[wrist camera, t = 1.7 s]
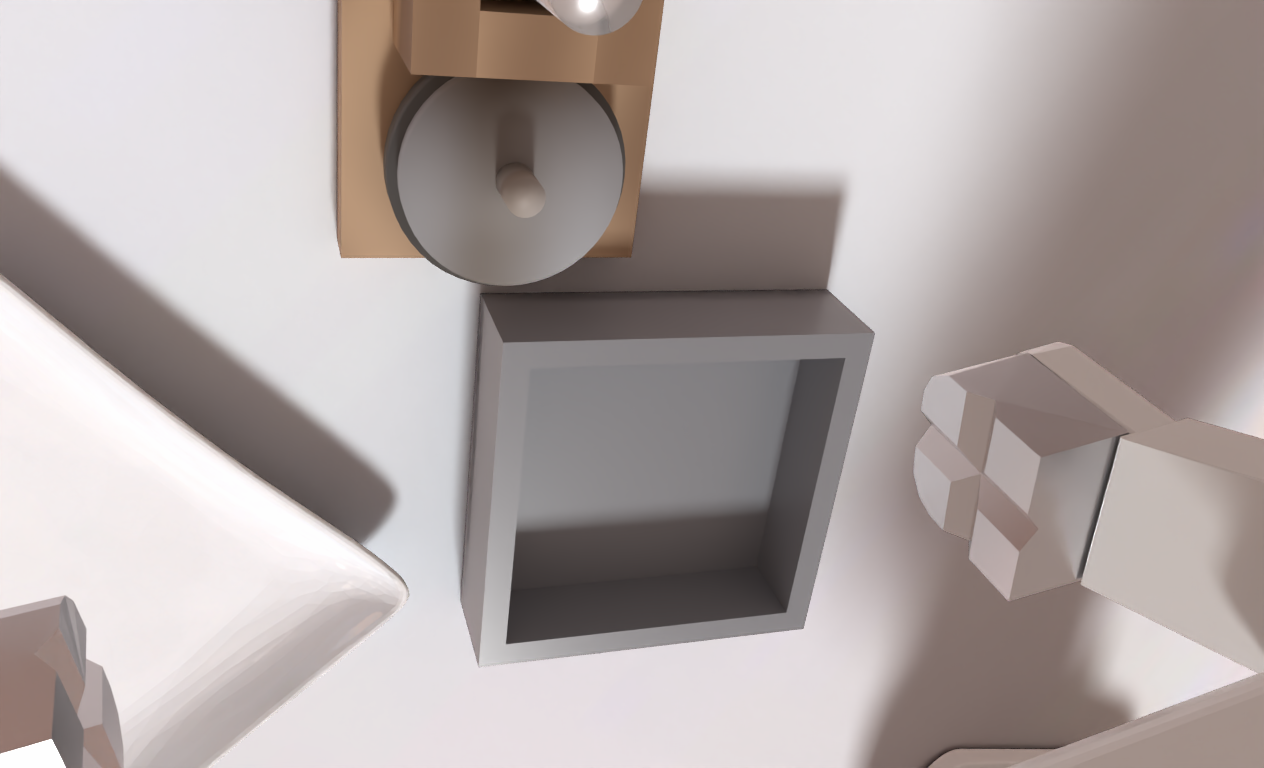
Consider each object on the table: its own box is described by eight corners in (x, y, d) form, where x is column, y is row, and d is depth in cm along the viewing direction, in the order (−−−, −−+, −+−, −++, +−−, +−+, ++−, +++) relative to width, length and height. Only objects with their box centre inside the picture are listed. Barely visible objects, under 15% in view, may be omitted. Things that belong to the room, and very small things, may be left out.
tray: (827, 289, 45) (874, 332, 42) (766, 571, 52) (803, 628, 48) (480, 293, 41) (503, 342, 37) (460, 601, 47) (478, 667, 44)
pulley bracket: (670, -184, 35) (737, -172, 30) (618, 249, 41) (666, 312, 37) (338, -227, 32) (356, -222, 27) (337, 249, 38) (352, 317, 34)
